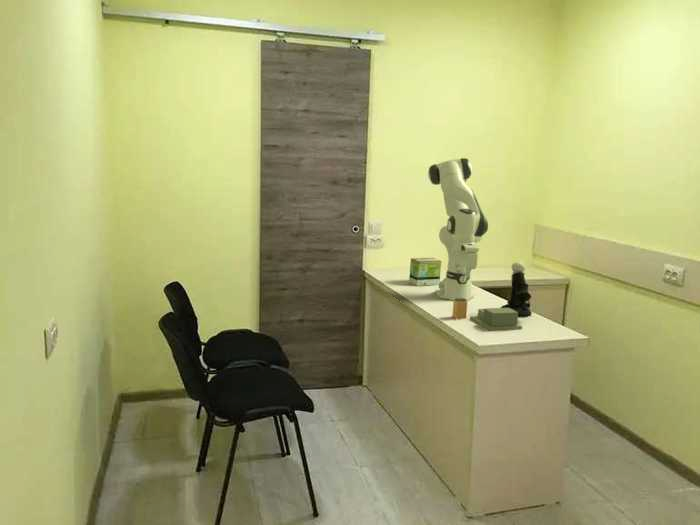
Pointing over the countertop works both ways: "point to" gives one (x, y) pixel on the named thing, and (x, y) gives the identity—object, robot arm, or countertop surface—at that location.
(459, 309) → the yellow box green face
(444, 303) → the countertop surface
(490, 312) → the green plate with frame
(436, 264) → the tea box
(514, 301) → the sculpture
